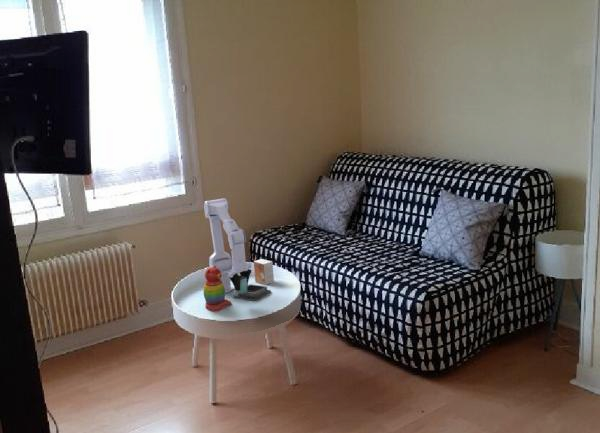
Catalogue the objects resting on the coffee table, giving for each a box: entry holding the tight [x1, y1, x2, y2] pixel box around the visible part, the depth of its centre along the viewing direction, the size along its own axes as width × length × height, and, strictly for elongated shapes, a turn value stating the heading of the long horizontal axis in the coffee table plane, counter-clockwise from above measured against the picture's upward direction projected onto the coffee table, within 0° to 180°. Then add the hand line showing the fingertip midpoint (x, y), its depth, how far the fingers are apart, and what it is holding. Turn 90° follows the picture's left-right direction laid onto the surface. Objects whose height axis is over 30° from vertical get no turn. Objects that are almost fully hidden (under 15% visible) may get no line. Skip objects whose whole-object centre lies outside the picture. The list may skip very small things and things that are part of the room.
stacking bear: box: [203, 266, 232, 312], centre depth 264 cm, size 11×10×18 cm
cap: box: [235, 276, 248, 294], centre depth 261 cm, size 5×5×6 cm
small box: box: [253, 258, 275, 286], centre depth 292 cm, size 8×6×10 cm
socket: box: [234, 283, 272, 302], centre depth 276 cm, size 12×12×3 cm
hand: (241, 288), depth 262 cm, fingers closed on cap, 5 cm apart
